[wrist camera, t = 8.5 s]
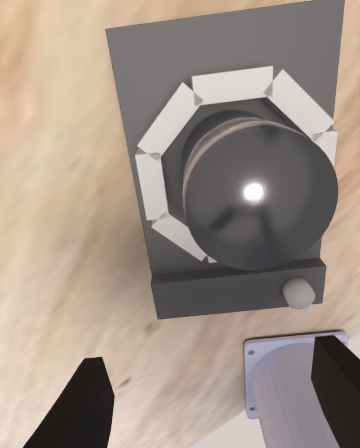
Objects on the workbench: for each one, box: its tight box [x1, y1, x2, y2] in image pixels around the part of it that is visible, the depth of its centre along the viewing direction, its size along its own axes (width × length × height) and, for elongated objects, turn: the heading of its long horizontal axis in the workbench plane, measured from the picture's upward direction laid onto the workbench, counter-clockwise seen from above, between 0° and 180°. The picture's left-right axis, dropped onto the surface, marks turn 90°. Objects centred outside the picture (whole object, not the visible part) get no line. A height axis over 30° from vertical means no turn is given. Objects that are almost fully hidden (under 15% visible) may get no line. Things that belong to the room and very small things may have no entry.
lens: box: [182, 109, 338, 270], centre depth 11 cm, size 4×4×6 cm
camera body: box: [105, 0, 345, 319], centre depth 15 cm, size 14×9×6 cm, turn 7°
